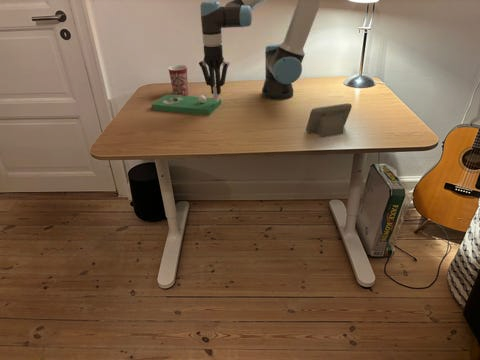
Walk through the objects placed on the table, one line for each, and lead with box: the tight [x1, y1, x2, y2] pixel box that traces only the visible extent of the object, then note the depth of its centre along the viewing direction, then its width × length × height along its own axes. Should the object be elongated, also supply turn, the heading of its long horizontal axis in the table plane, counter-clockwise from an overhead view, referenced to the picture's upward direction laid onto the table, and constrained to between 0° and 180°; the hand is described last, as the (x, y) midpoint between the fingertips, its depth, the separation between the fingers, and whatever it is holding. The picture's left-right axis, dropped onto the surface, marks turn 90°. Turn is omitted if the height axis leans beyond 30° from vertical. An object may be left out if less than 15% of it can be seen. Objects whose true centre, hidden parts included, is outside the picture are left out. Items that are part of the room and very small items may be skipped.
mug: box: [167, 64, 189, 96], centre depth 171 cm, size 13×9×14 cm
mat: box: [151, 93, 222, 116], centre depth 158 cm, size 28×14×2 cm, turn 71°
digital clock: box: [305, 103, 352, 138], centre depth 129 cm, size 16×9×11 cm, turn 95°
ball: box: [198, 94, 207, 103], centre depth 154 cm, size 4×4×4 cm
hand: (216, 101), depth 152 cm, fingers closed
